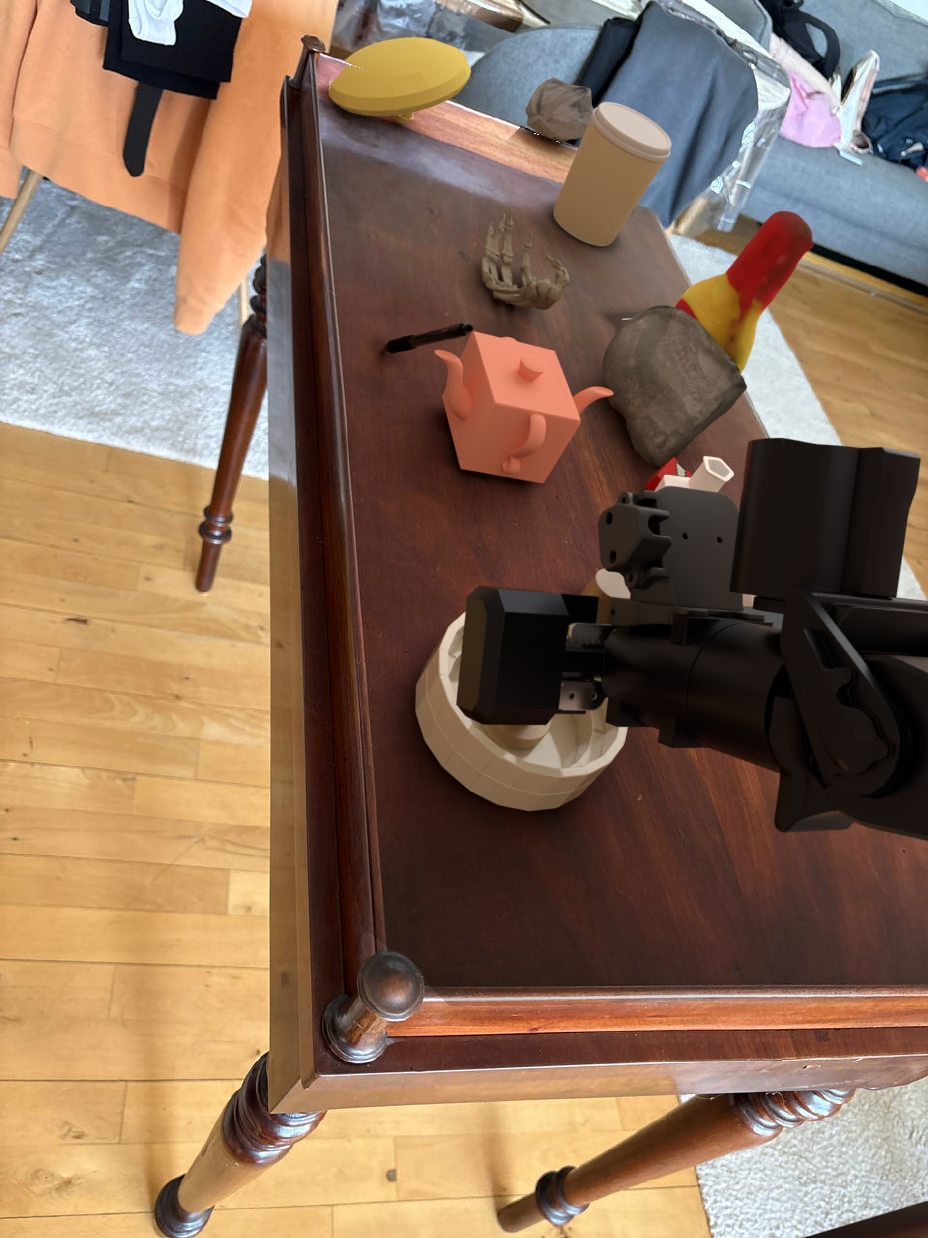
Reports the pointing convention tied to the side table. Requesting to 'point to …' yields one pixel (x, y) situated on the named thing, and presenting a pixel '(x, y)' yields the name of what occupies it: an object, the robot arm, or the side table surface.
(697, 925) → the side table surface
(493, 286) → the skeletal hand
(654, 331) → the stone
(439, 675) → the bowl
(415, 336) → the pen
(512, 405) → the teapot
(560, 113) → the fossil
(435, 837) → the side table surface
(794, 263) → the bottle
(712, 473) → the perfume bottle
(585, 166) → the coffee cup
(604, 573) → the tan post
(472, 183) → the side table surface
